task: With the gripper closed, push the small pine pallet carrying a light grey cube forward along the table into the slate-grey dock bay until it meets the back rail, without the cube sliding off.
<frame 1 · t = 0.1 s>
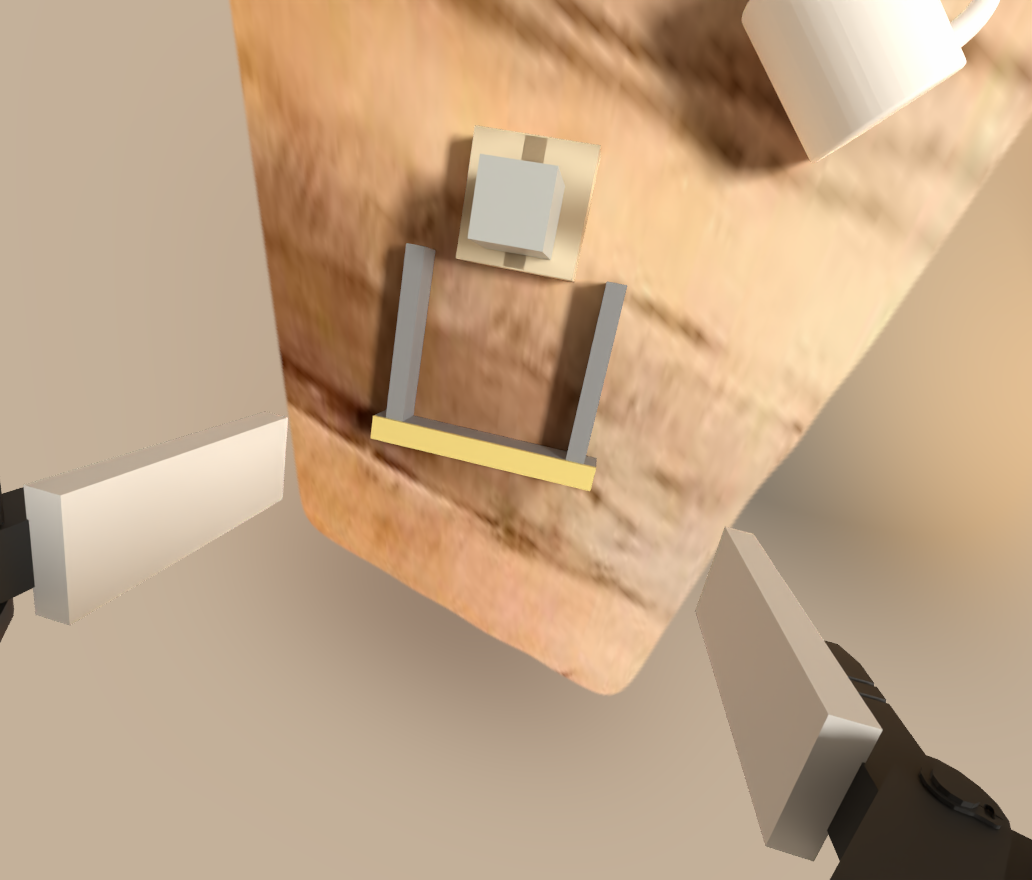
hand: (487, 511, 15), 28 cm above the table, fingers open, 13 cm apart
light grey cube: (524, 218, 36), point 3 cm above the table
pallet: (530, 212, 39), on the table
mug: (847, 52, 33), on the table
dock: (503, 353, 41), on the table
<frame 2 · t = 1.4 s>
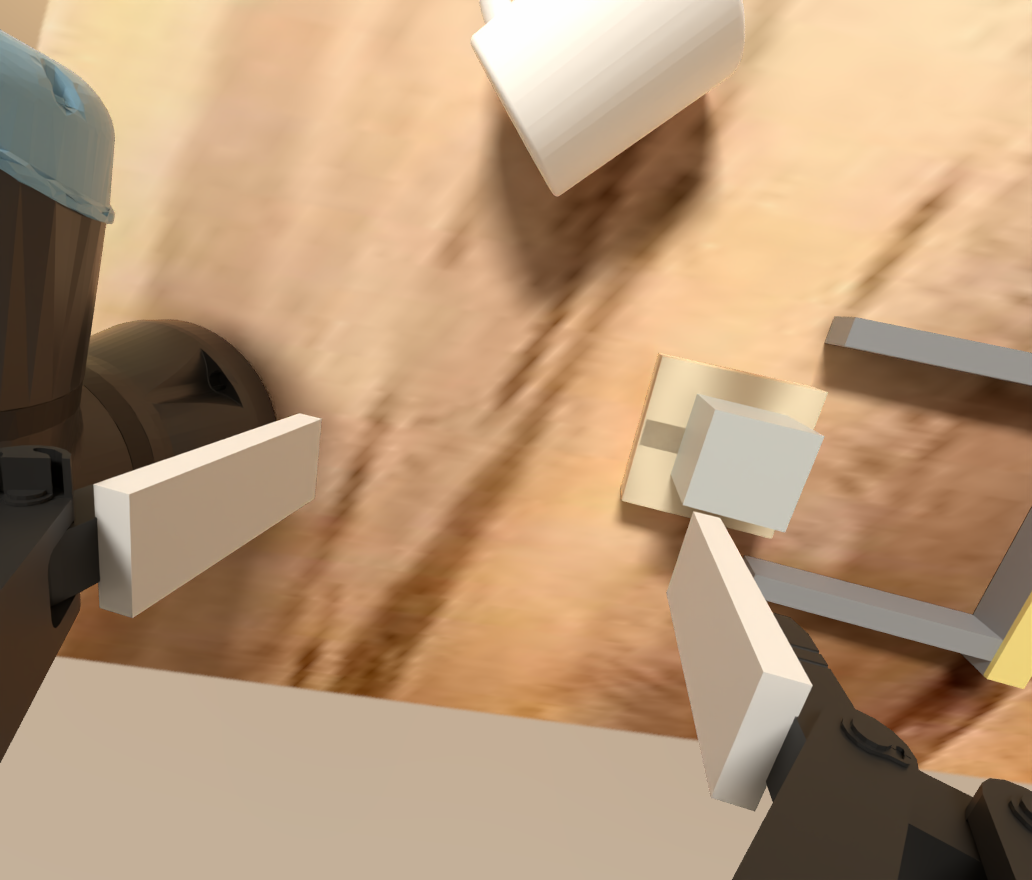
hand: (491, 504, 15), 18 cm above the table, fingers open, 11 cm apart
light grey cube: (726, 445, 29), point 2 cm above the table, touching pallet
pallet: (708, 437, 32), on the table, touching light grey cube
mug: (585, 59, 27), on the table
dock: (901, 484, 30), on the table
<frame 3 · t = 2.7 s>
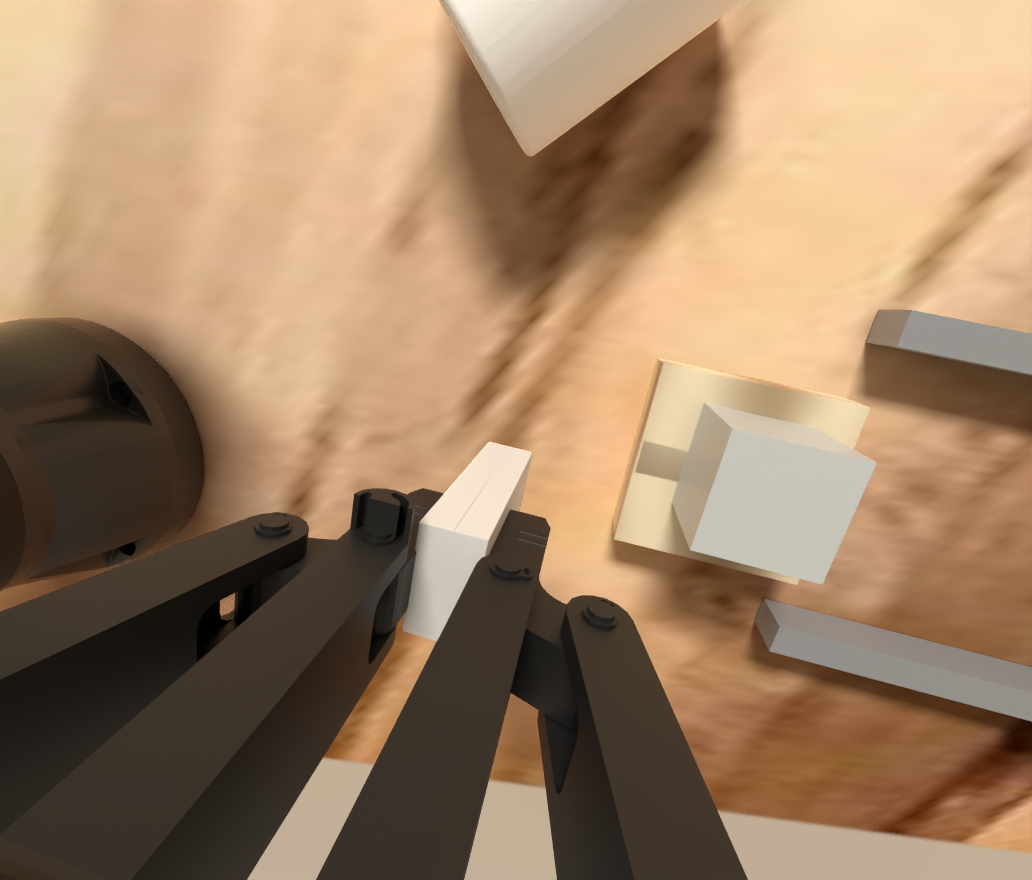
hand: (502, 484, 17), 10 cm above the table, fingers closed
light grey cube: (741, 466, 23), point 2 cm above the table, touching pallet
pallet: (717, 459, 26), on the table, touching light grey cube
dock: (956, 514, 24), on the table
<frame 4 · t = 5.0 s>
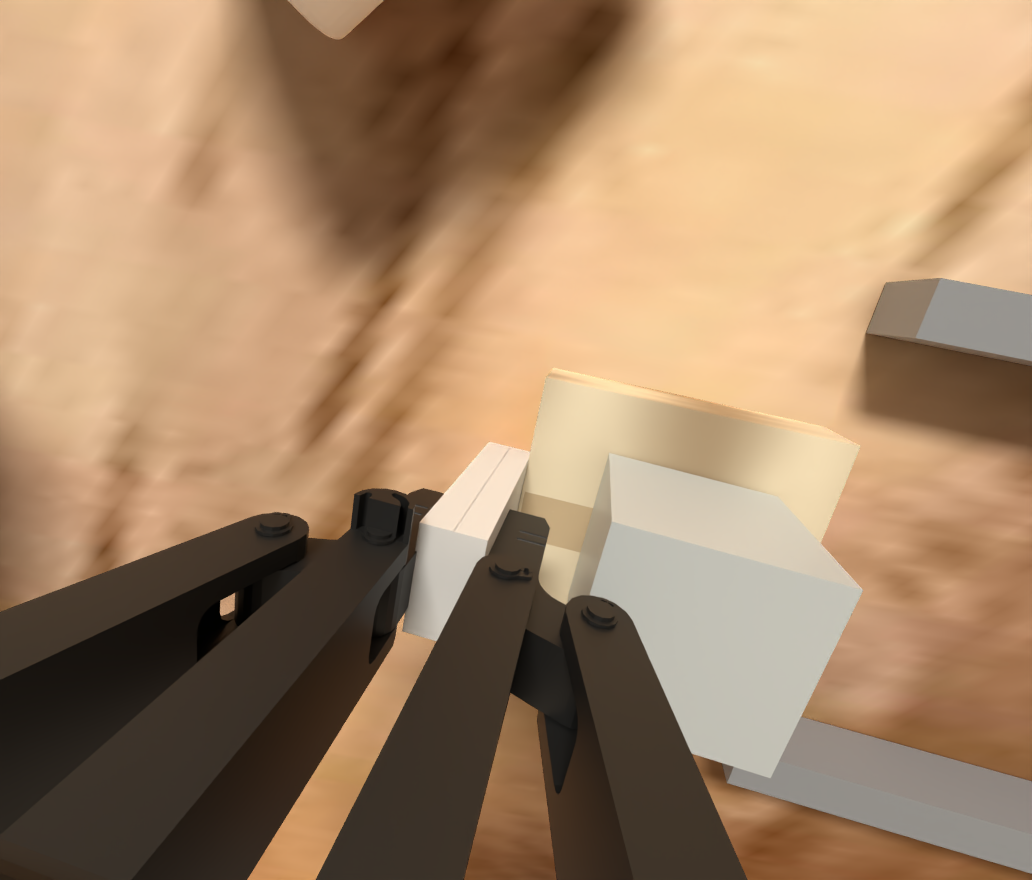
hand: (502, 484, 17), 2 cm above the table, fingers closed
light grey cube: (666, 547, 15), point 2 cm above the table
pallet: (647, 510, 18), on the table, touching gripper
dock: (1002, 587, 17), on the table
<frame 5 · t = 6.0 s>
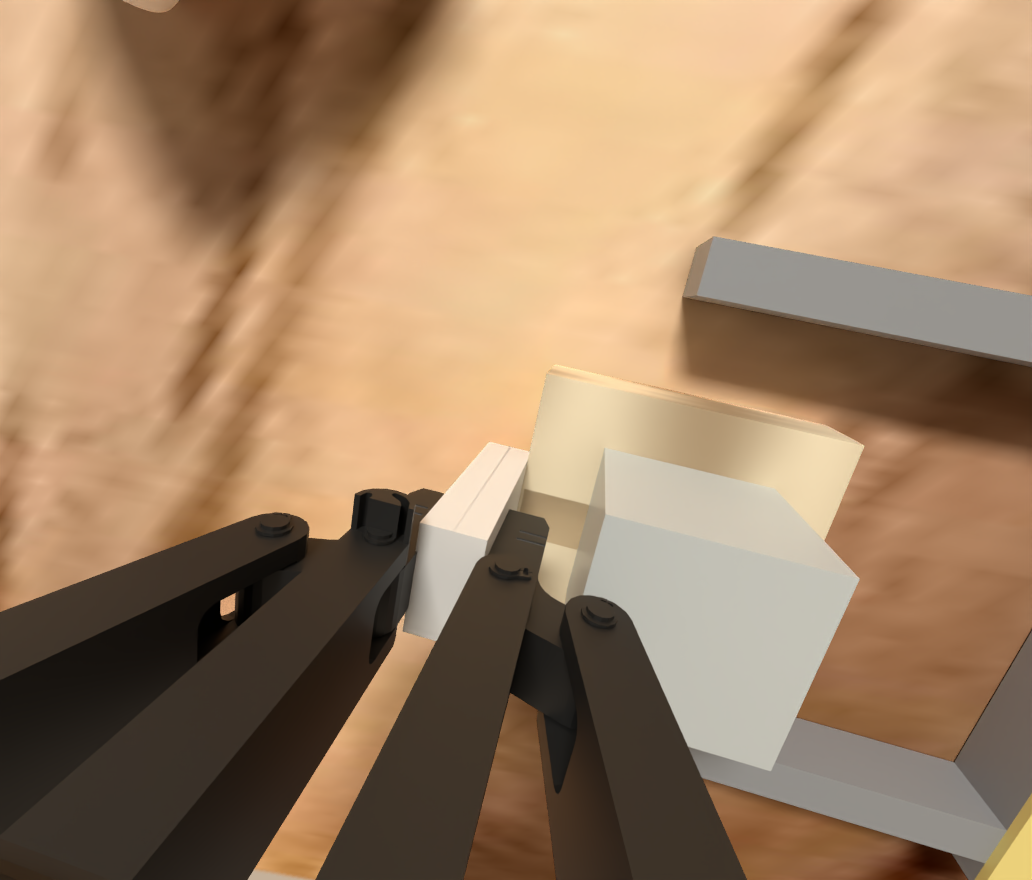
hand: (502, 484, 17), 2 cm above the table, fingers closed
light grey cube: (664, 542, 15), point 2 cm above the table, touching pallet
pallet: (648, 509, 18), on the table, touching light grey cube, gripper
dock: (828, 546, 17), on the table
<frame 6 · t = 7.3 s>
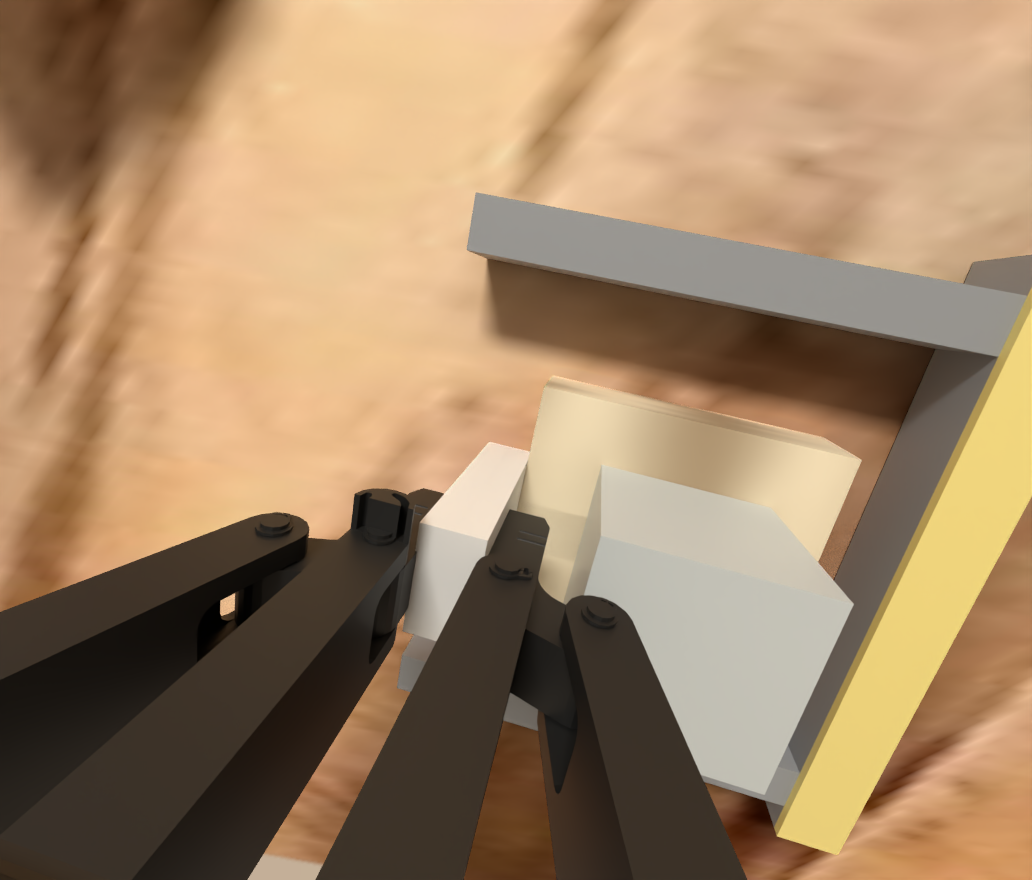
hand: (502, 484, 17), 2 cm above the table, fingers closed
light grey cube: (660, 559, 15), point 3 cm above the table
pallet: (645, 519, 18), on the table
dock: (640, 502, 18), on the table
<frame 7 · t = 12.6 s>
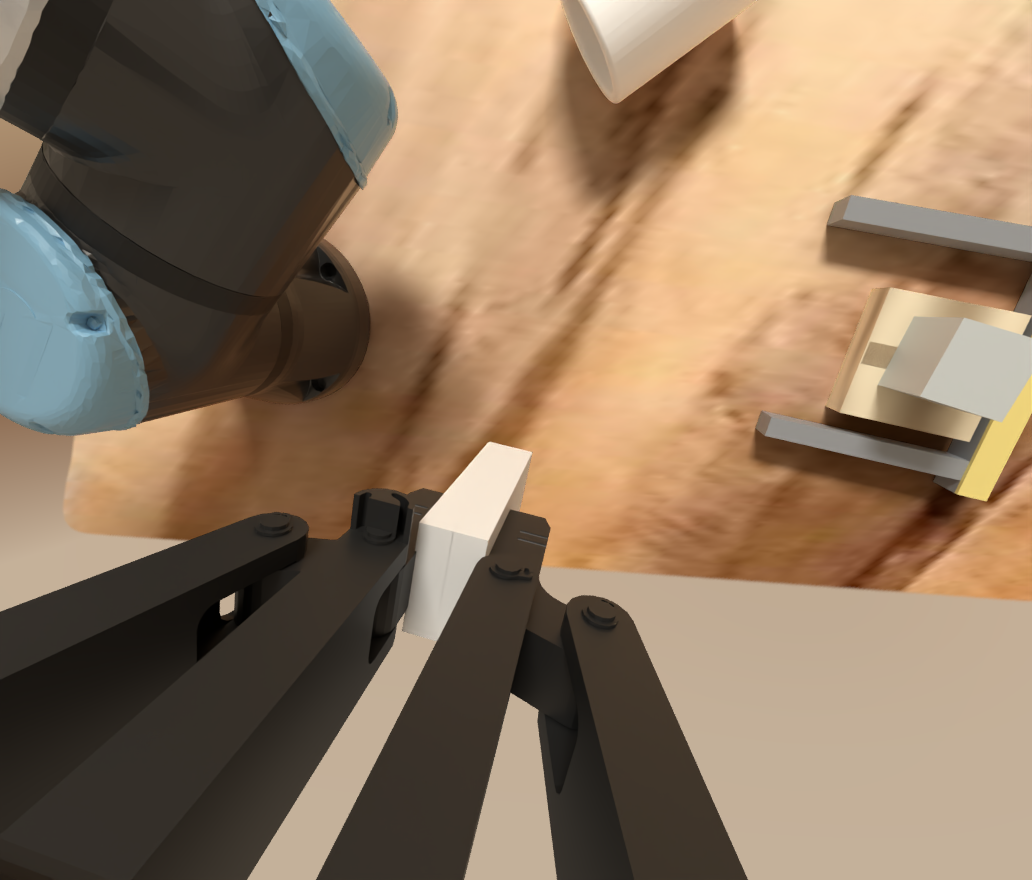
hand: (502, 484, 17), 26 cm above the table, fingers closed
light grey cube: (931, 362, 35), point 2 cm above the table, touching pallet
pallet: (906, 362, 38), on the table, touching light grey cube
dock: (888, 342, 37), on the table
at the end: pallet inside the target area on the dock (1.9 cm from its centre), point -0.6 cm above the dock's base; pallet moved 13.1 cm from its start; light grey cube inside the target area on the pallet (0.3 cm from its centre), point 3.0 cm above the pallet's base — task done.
